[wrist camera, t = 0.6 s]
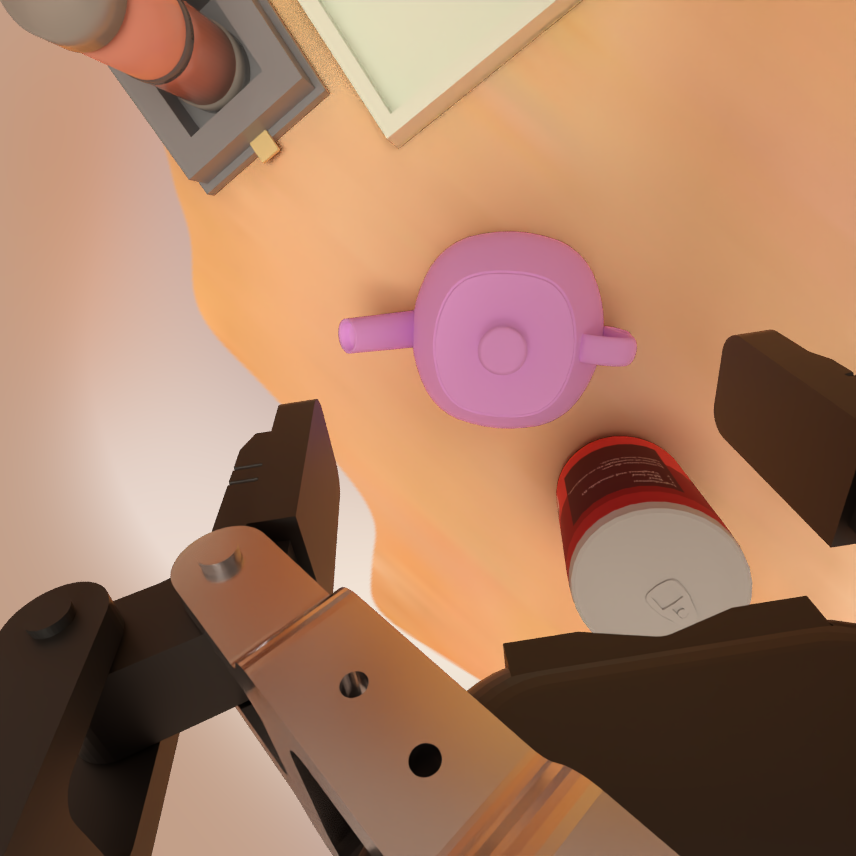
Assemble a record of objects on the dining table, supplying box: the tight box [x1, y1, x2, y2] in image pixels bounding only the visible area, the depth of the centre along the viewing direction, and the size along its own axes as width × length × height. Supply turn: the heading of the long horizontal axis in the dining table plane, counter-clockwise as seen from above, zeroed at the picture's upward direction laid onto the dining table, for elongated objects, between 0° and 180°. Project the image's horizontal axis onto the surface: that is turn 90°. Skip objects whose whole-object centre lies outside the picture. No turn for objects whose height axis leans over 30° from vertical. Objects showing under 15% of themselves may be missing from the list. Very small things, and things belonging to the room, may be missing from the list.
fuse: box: [0, 0, 250, 114], centre depth 26 cm, size 4×4×12 cm
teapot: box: [338, 231, 637, 428], centre depth 30 cm, size 10×15×9 cm
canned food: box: [556, 436, 752, 636], centre depth 31 cm, size 8×8×11 cm
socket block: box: [108, 0, 330, 195], centre depth 31 cm, size 9×11×3 cm
